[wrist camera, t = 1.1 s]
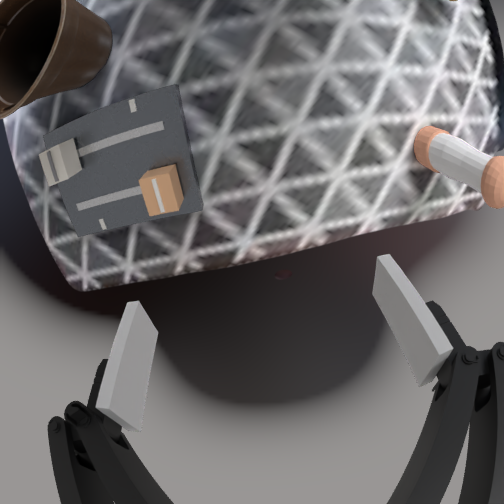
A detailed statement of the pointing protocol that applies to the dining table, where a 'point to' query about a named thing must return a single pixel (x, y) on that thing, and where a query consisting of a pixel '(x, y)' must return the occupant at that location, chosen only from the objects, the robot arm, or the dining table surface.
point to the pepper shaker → (461, 163)
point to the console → (126, 160)
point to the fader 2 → (161, 190)
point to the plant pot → (48, 49)
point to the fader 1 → (60, 162)
